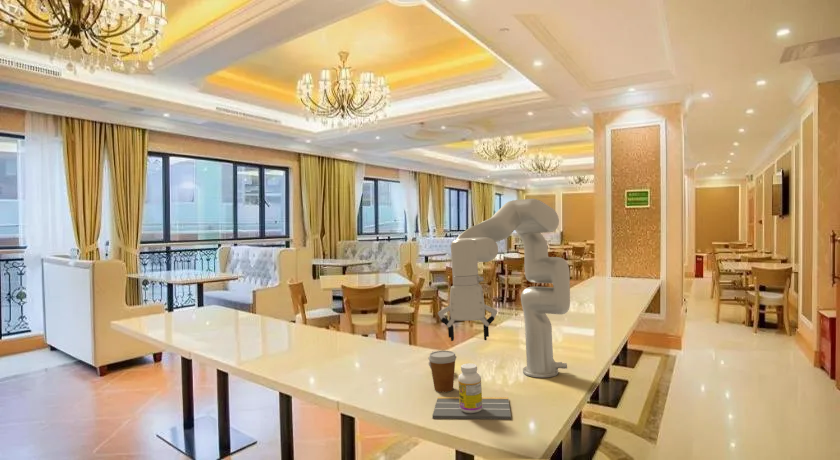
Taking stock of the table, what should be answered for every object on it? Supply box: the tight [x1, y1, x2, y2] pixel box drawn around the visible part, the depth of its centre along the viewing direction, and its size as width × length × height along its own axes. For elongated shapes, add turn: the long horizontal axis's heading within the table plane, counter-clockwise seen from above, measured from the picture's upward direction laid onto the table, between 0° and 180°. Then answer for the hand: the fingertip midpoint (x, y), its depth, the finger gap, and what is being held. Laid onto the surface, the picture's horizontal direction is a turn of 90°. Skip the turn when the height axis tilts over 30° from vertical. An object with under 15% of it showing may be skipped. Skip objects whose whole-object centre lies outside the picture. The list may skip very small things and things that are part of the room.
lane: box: [432, 396, 512, 420], centre depth 134 cm, size 22×15×1 cm
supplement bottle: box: [458, 362, 483, 413], centre depth 131 cm, size 7×7×13 cm
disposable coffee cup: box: [427, 350, 457, 393], centre depth 153 cm, size 10×10×12 cm
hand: (468, 339), depth 132 cm, fingers open, 9 cm apart
